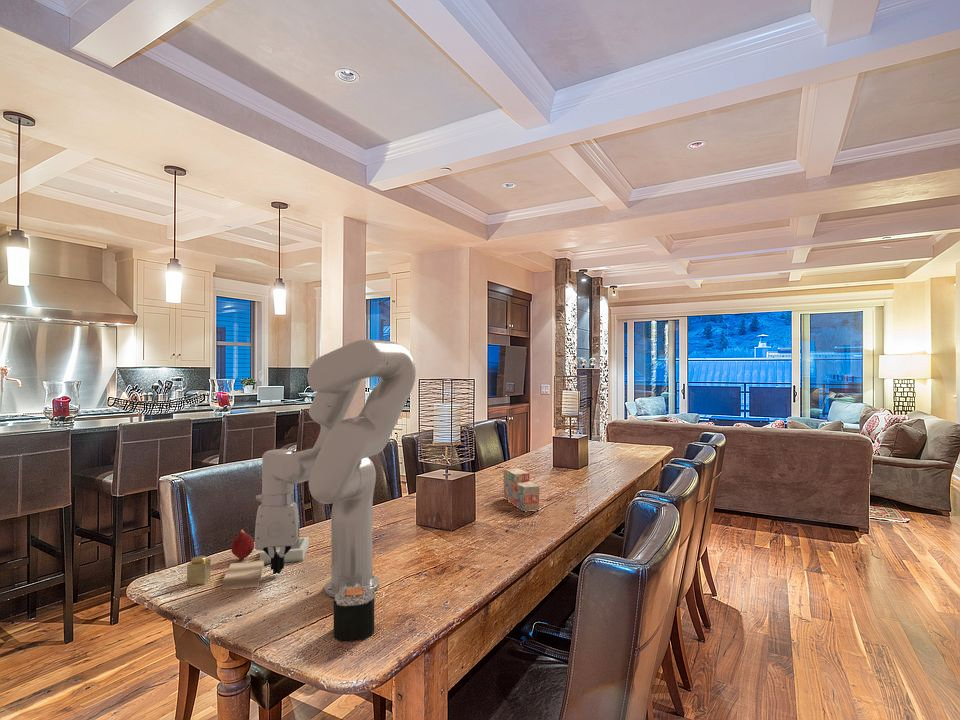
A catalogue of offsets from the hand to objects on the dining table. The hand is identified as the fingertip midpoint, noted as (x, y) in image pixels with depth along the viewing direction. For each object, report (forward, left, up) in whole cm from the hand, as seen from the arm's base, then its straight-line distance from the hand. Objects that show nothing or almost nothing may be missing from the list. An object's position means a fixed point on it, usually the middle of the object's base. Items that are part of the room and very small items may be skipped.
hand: (277, 571), depth 131 cm
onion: (+14, +12, -1) cm, 18 cm away
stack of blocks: (+54, -77, -1) cm, 94 cm away
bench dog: (0, +18, -1) cm, 18 cm away
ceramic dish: (+15, +1, -1) cm, 15 cm away
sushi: (-32, -21, -1) cm, 38 cm away
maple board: (0, +8, -2) cm, 8 cm away
